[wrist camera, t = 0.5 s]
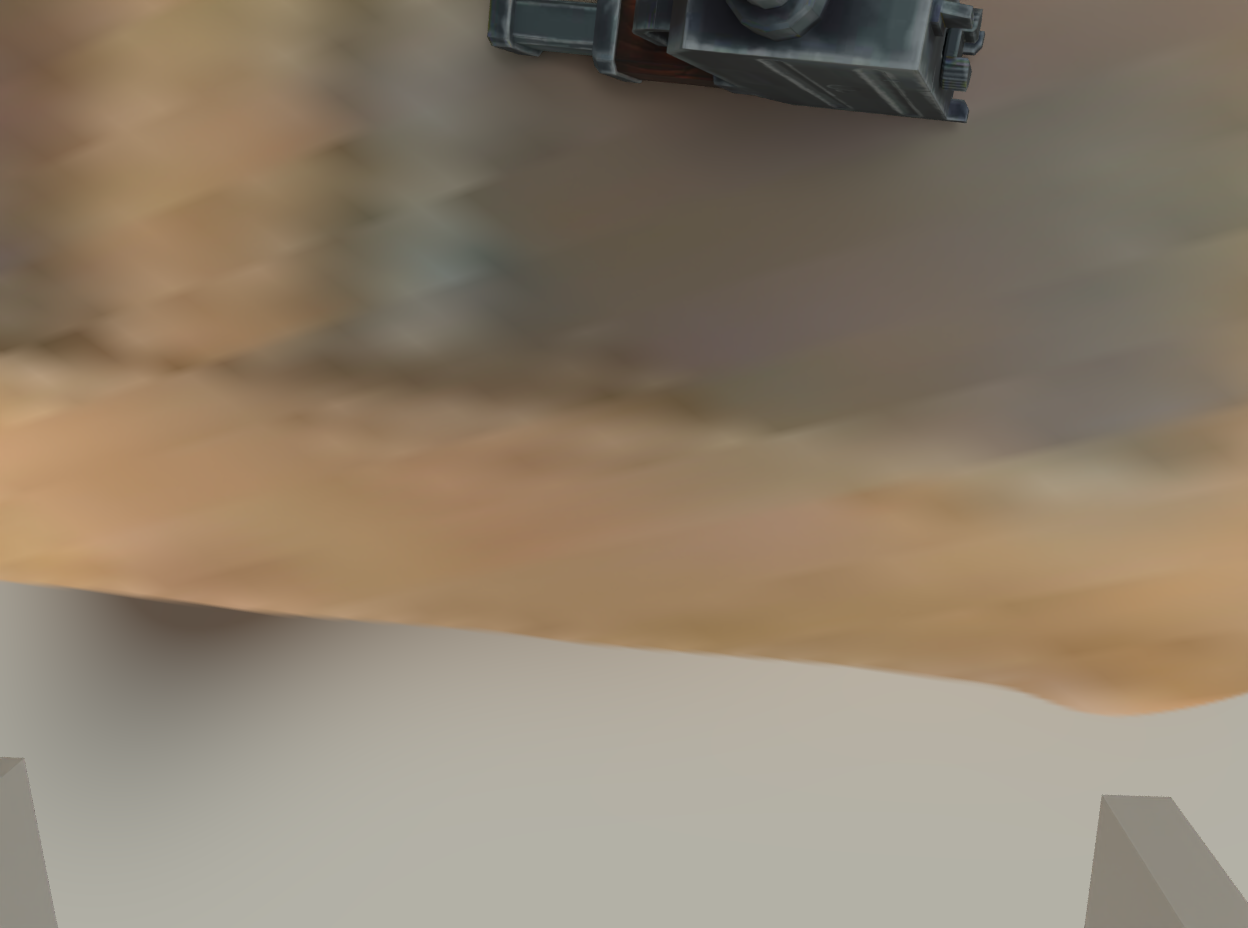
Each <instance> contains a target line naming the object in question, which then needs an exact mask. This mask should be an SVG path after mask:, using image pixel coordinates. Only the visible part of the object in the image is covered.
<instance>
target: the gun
mask: <svg viewBox="0 0 1248 928" xmlns="http://www.w3.org/2000/svg"><path fill="white" fill-rule="evenodd" d="M982 11H983V9H977V8H973V6H970V5H965V4H960V3H959V0H597V3H586V2H573V1H561V0H490V11H489V24H488V36H487V37H488V39H489V41H490V43H491V45H492V46H495V47H498V48H501V49H504V50H507V51H510V52H513V53H516V54H520V55H530V56H539V55H540V54H541V53H542V52H543V51H551V52H561V53H571V54H581V55H592V57H593V62H594V66H595V67H596V69H597V70H598V71H599V73H602V74H605V75H608V76H611V77H614V78H616V79H619V80H622V81H625V82H634V83H641V82H642V80H648V81H660V82H671V83H681V84H691V85H700V86H708V87H716V88H723V89H725V90H728V91H730V92H732V93H739V94H748V95H756V96H758V97H762V98H767V99H771V100H775V101H779V102H783V103H788V104H792V105H802V106H811V107H820V108H830V109H839V110H848V111H858V112H867V113H877V114H886V115H895V116H905V117H914V118H924V119H933V120H942V121H952V122H961V123H967V118H968V114H969V109H968V107H967V105H966V103H965V101H964V100H959V99H952V98H953V93H954V91H964V92H966V90H967V88H968V85H969V80H970V76H971V72H972V71H971V66H970V62H969V60H968V58H962V54H964V55H975V54H976V53H977V52H978V51H979V50H980V49H981V48H982V46H983V41H984V36H985V31H980V27H981V21H982Z"/></svg>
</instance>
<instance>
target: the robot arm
mask: <svg viewBox="0 0 1248 928" xmlns="http://www.w3.org/2000/svg"><path fill="white" fill-rule="evenodd" d="M0 928H58V927H57V921H56V917H55V911H54V906H53V901H52V896H51V892H50V886H49V881H48V876H47V872H46V866H45V861H44V856H43V851H42V846H41V841H40V835H39V831H38V826H37V820H36V815H35V810H34V805H33V800H32V795H31V790H30V785H29V780H28V775H27V770H26V765H25V760H24V758H10V757H0ZM1084 928H1248V902H1247V901H1246V900H1245V898H1244V897H1243V896H1242V894H1241V893H1240V891H1239V890H1238V889H1237V887H1236V886H1235V885H1234V883H1233V882H1232V880H1231V879H1230V878H1229V876H1227V874H1226V872H1225V871H1224V869H1223V868H1222V867H1221V865H1220V864H1219V863H1218V861H1217V860H1216V859H1215V857H1214V856H1213V854H1212V853H1211V852H1210V850H1209V849H1208V848H1207V846H1206V845H1205V843H1204V842H1203V841H1202V839H1201V838H1200V837H1199V835H1198V834H1197V832H1196V831H1195V830H1194V828H1193V827H1192V826H1191V824H1190V823H1189V822H1188V820H1187V819H1186V818H1185V816H1184V815H1183V813H1182V812H1181V811H1180V809H1179V808H1178V806H1177V805H1176V804H1175V802H1174V801H1173V800H1172V798H1171V797H1150V796H1121V795H1102V798H1101V806H1100V813H1099V821H1098V829H1097V836H1096V843H1095V852H1094V859H1093V866H1092V874H1091V882H1090V889H1089V897H1088V904H1087V912H1086V919H1085V927H1084Z"/></svg>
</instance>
